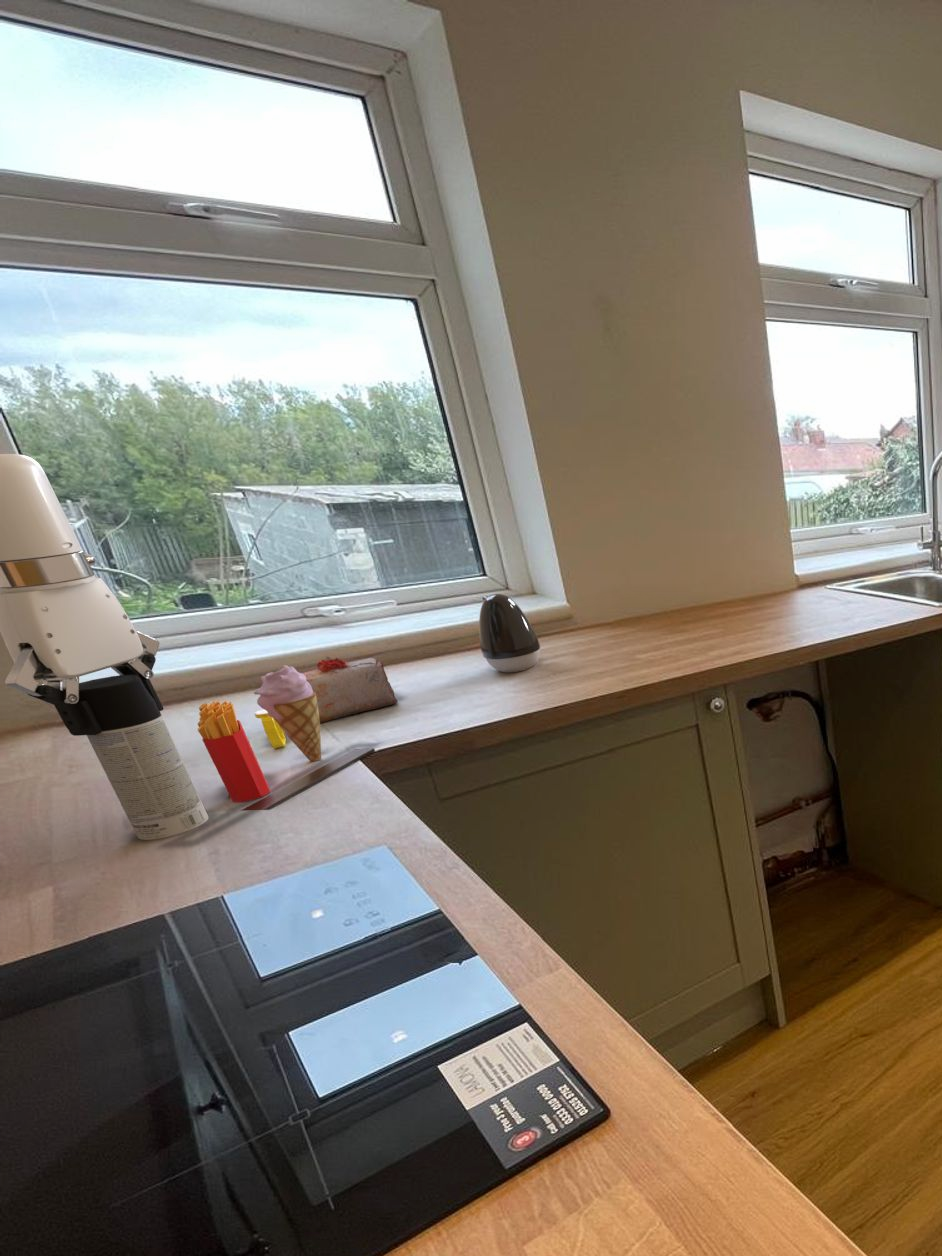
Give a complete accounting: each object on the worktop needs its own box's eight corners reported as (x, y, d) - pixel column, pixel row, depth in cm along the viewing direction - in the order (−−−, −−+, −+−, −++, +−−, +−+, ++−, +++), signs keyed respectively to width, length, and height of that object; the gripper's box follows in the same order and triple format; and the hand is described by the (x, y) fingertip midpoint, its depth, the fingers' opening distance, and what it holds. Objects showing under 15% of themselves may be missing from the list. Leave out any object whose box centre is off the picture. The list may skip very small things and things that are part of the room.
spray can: (210, 815, 107) (143, 670, 99) (213, 831, 102) (142, 680, 95) (140, 833, 103) (64, 683, 95) (139, 851, 98) (59, 694, 90)
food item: (307, 728, 136) (284, 672, 132) (297, 718, 141) (275, 664, 137) (401, 705, 146) (382, 652, 142) (389, 696, 151) (370, 645, 147)
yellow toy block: (270, 742, 131) (255, 707, 129) (292, 737, 133) (277, 703, 130) (268, 753, 127) (252, 717, 124) (290, 748, 128) (275, 713, 126)
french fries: (228, 788, 115) (187, 702, 109) (267, 778, 117) (229, 694, 112) (232, 808, 108) (189, 718, 103) (273, 797, 111) (233, 708, 106)
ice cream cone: (315, 769, 120) (274, 672, 114) (274, 770, 120) (231, 674, 114) (349, 751, 126) (312, 658, 120) (310, 752, 126) (271, 660, 120)
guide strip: (173, 850, 98) (171, 847, 98) (356, 751, 126) (355, 748, 125) (197, 849, 98) (195, 846, 98) (375, 751, 126) (374, 748, 125)
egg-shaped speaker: (529, 658, 171) (509, 586, 165) (554, 665, 165) (534, 591, 159) (478, 671, 163) (455, 597, 157) (502, 679, 157) (479, 602, 151)
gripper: (91, 560, 98) (159, 699, 105) (-87, 591, 82) (7, 752, 89) (151, 557, 98) (215, 696, 105) (-16, 588, 82) (73, 750, 89)
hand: (119, 721), depth 97 cm, fingers closed on spray can, 6 cm apart
